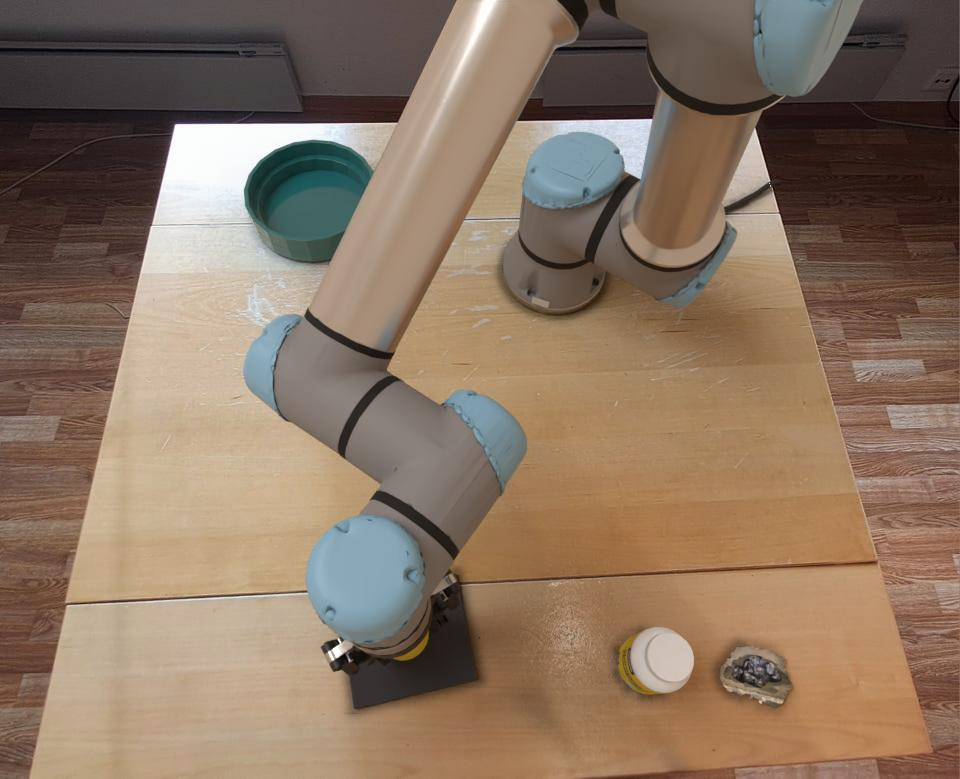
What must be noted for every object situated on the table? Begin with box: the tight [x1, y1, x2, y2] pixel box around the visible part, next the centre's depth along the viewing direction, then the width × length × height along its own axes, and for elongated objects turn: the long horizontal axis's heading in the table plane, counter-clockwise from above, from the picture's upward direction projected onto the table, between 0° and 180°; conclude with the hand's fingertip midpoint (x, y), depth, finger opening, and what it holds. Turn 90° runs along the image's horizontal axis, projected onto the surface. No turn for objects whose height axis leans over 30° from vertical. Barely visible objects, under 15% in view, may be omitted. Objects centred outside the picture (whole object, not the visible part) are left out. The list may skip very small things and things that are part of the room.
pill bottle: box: [616, 626, 695, 696], centre depth 74 cm, size 6×6×12 cm
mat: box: [349, 573, 478, 710], centre depth 79 cm, size 14×12×1 cm
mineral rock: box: [718, 645, 794, 709], centre depth 78 cm, size 7×8×2 cm
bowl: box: [243, 139, 374, 263], centre depth 104 cm, size 19×19×6 cm
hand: (405, 636), depth 77 cm, fingers closed on lemon, 6 cm apart
